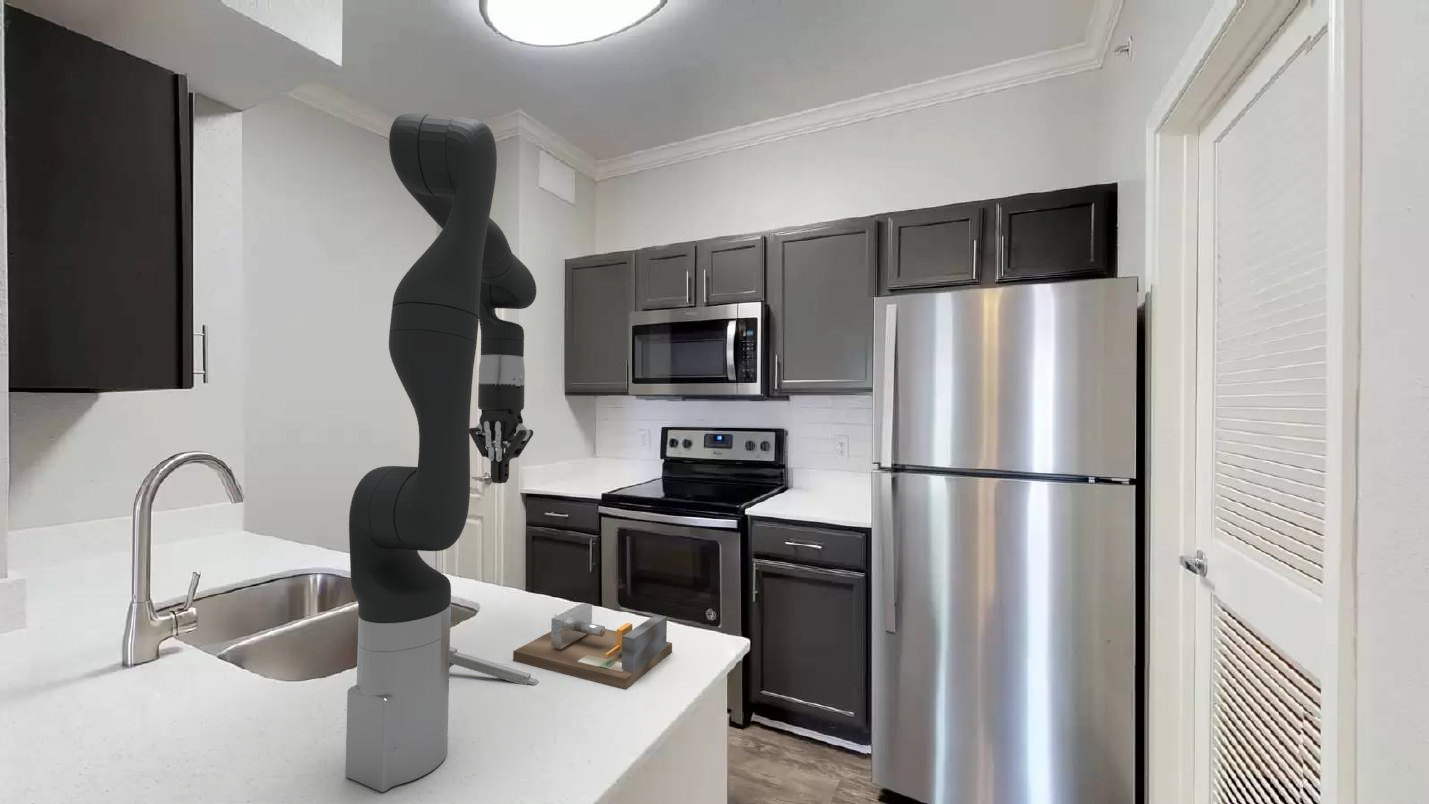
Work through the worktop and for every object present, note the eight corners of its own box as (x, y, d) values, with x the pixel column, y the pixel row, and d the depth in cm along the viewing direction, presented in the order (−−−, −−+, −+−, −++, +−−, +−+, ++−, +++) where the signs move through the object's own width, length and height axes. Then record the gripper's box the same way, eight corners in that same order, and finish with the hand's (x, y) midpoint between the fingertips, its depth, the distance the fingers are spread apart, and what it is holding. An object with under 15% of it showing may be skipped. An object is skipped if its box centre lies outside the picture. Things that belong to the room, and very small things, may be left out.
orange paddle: (608, 659, 85) (609, 638, 85) (603, 657, 86) (603, 637, 86) (632, 643, 91) (632, 623, 91) (626, 641, 92) (627, 622, 92)
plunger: (587, 655, 88) (587, 625, 88) (551, 646, 91) (551, 618, 91) (616, 636, 96) (616, 609, 96) (582, 629, 98) (582, 603, 98)
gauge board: (625, 689, 82) (626, 643, 82) (513, 660, 90) (513, 619, 90) (671, 651, 95) (672, 612, 95) (569, 629, 103) (570, 593, 103)
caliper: (408, 674, 86) (408, 632, 86) (413, 671, 87) (413, 630, 87) (535, 687, 83) (536, 643, 83) (538, 683, 84) (539, 640, 84)
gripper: (456, 381, 98) (453, 482, 98) (515, 381, 93) (513, 488, 93) (489, 383, 105) (487, 478, 105) (546, 383, 100) (544, 483, 99)
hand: (499, 482), depth 99 cm, fingers closed
